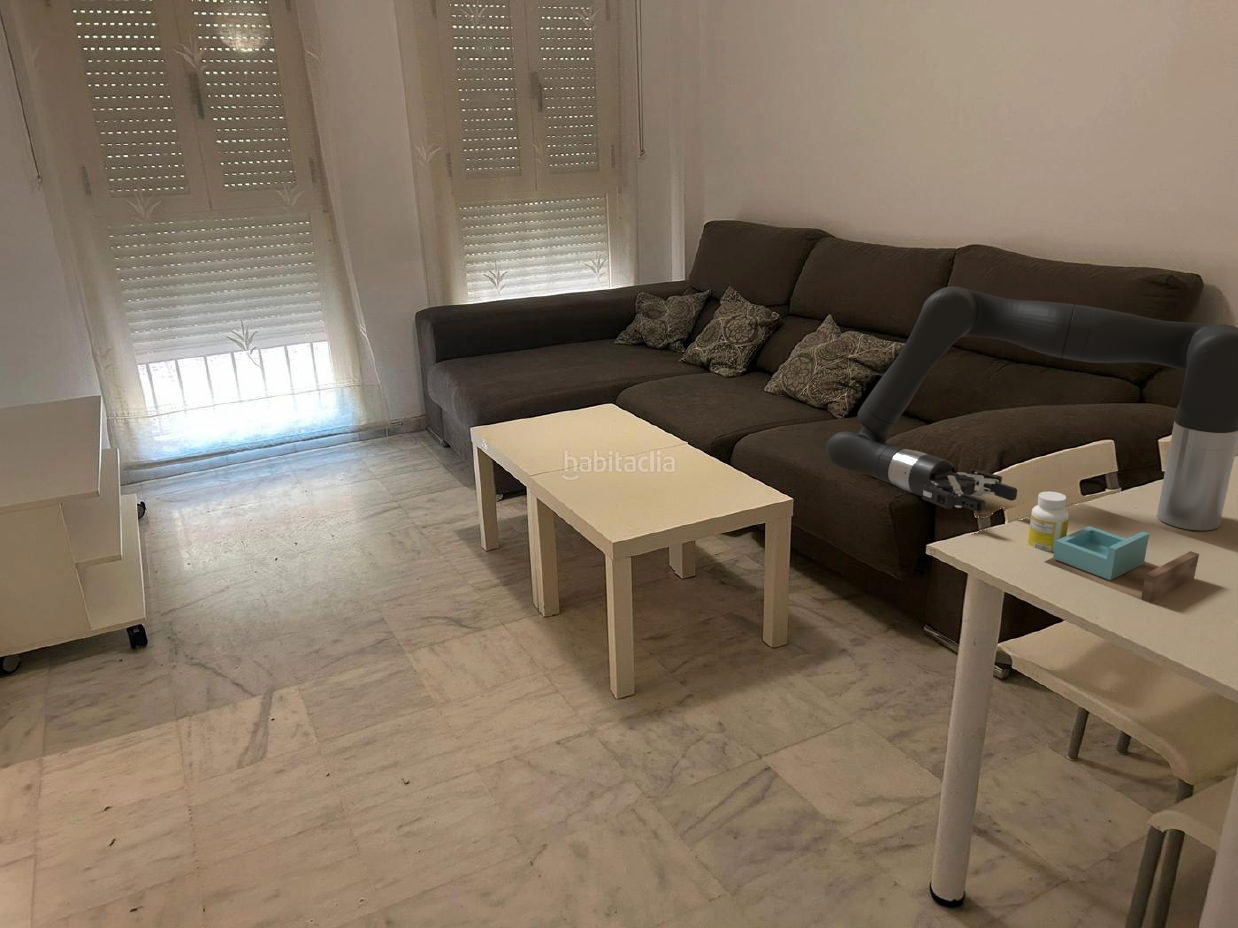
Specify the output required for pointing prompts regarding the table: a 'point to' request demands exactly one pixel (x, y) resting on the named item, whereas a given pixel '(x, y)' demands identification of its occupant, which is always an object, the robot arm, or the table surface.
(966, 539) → the table surface
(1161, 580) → the walnut board
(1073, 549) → the teal open tray
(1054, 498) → the supplement bottle
